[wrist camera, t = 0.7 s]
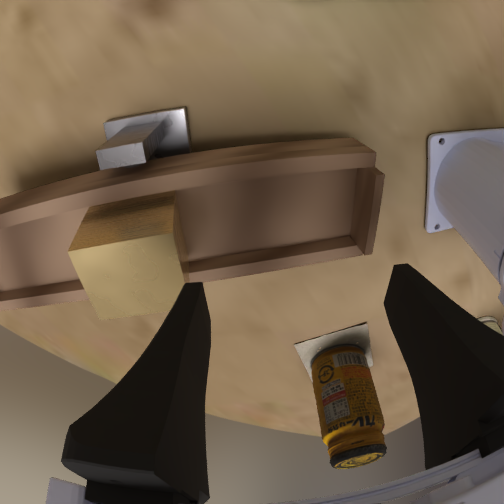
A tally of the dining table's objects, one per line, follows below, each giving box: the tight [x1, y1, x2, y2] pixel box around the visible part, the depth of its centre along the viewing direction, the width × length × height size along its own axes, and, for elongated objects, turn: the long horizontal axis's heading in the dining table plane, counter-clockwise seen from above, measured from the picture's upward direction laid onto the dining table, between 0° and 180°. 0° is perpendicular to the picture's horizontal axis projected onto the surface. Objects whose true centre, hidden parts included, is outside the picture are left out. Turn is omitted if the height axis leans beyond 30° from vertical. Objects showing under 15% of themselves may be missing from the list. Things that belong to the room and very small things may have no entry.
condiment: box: [295, 324, 387, 469], centre depth 27 cm, size 7×8×12 cm
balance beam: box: [0, 138, 385, 311], centre depth 16 cm, size 24×7×4 cm, turn 93°
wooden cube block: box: [68, 190, 190, 320], centre depth 14 cm, size 4×4×4 cm
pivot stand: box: [96, 107, 192, 170], centre depth 18 cm, size 5×10×5 cm, turn 3°
